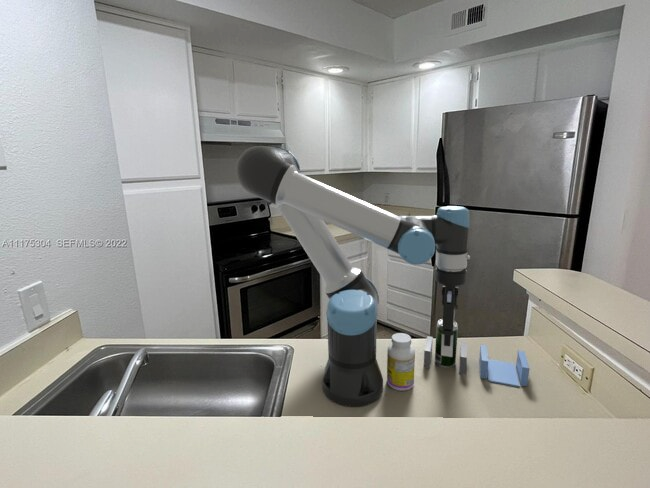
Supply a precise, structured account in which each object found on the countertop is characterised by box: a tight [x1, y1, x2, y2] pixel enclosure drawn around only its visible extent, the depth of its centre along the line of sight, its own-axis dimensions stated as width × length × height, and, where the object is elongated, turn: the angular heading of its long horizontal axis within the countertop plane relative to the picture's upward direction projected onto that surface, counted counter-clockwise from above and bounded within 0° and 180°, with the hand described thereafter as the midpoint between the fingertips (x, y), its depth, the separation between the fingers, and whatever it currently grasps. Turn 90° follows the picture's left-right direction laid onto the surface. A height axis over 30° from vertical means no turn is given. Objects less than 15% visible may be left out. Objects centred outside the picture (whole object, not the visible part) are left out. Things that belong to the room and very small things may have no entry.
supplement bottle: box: [386, 332, 416, 392], centre depth 85 cm, size 7×7×13 cm
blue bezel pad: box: [487, 358, 520, 388], centre depth 90 cm, size 7×10×1 cm
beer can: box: [434, 318, 459, 369], centre depth 93 cm, size 5×5×12 cm
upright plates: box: [423, 336, 531, 387], centre depth 92 cm, size 24×8×5 cm, turn 68°
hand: (447, 342), depth 93 cm, fingers open, 13 cm apart
